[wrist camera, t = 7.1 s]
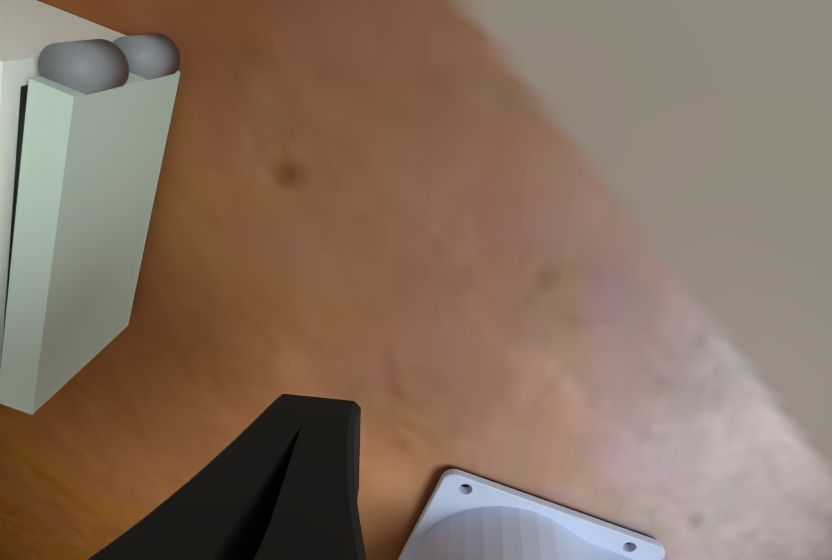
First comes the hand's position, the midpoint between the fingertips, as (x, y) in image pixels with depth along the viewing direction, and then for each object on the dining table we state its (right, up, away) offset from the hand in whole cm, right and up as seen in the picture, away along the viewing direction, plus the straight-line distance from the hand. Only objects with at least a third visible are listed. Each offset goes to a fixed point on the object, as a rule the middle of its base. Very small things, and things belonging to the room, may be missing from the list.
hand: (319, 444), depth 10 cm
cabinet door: (-7, +6, +9) cm, 13 cm away
